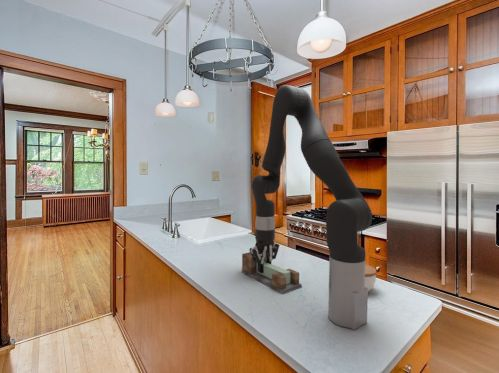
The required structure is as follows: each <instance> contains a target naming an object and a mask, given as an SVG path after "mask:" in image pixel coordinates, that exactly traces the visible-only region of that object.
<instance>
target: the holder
mask: <svg viewBox="0 0 499 373" xmlns="http://www.w3.org/2000/svg"><path fill="white" fill-rule="evenodd" d="M257 252H258V250H257ZM261 255H262V254H261ZM241 257H242V258H241V261H242V262H241V265H242V267H241V273H242V274H244V275H246V276H248V277H250V278H251V279H253V280H255V281H258V282H260V283H261V284H263V285H266V286H267V287H269V288H270V289H272V290H275V291H277V292H278V293H280V294H281V295H285V294H288V293H290V292H293V291H296V290H298V289H300V288H302V287H303V286H302V283H300V272H299V271H296V270H294V269H292V268H287V269H285V270H287V271H290V283H289V284H286V277H285V276H283V275H281V274H278V273H273V274H272V279H270V278H268V277H266V276H263V275H261V274H259V273H257V272H255V262H254V261H253V258H252V256H251V253H250V251H249V252H246V253H242V255H241ZM260 260H261V259H260ZM264 262H266V255H265V258H264Z"/></svg>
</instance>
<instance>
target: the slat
mask: <svg viewBox="0 0 499 373" xmlns="http://www.w3.org/2000/svg"><path fill="white" fill-rule="evenodd" d="M263 264H264V270H263V273H260V272H259V271H258V263H257V262H255V272H257V273H259V274H261V275H263V276H266V277H268V278H270V279H272V274H273V273H278V274H281V275H283V276H285V277H286V284H289V283H290V271H287V270H286V269H284V268H282V267H279V266H277V265H274V264H273V263H271V264H269V263H266V262H263Z"/></svg>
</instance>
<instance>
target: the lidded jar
mask: <svg viewBox="0 0 499 373" xmlns="http://www.w3.org/2000/svg"><path fill="white" fill-rule="evenodd" d="M376 278H377V269H376V268H375V267H373V266H372V265H368V264H366V263H365V287H366V288H368V292H370V291H371V290H372V289H373V288H374V286H375V283H376V280H377V279H376Z"/></svg>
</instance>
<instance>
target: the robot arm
mask: <svg viewBox="0 0 499 373" xmlns="http://www.w3.org/2000/svg"><path fill="white" fill-rule="evenodd" d="M273 97H274V98H273V103H272V107H271V108H272V109H271V110H272V111H271V118H270V124H269V135H268V140H267V143H266V144H267V145H266V148H265V151H264V155H263V159H262V161H261V162H262V163H261V168H262V169H263V170H264V171H266V172H268V174H267V175H264V174H263V175H262V174H261V175H256V176H254V178H253V179H252V181H251V190H252V193H253V197H254V202H255V224H254V226H255V228H254V229H255V230H254V232H255V234H254V237H255V244H254V246H253V247H250V248H249V250H248V251H249V252H250V253H251V256H252V258H253V261H254V262H257V263H258V271H259V272H260V273H263V270H264V264H263V262H264V258H265V255H266V263H269V264H272V261H273V260H276V258H277V255H278V253H279V248H280V244H278V243H275V241H274V240H275V239H276V219H275V202H274V201H273V200H270V199H267V196H266V195H269V194H270V195H272V194H275V193H276V192H277V191H278V190H279V188H280V185H281V167H282V165H283V162H284V158H285V155H286V140H285V134H284V130H285V129H284V127H285V121H286V120H287V116H292V117H294V118H295V120H296V121H297V122H298V125H299V127H300V129H301V138H300V151H301V154H302V155H303V157H304V158H303V159H304V160H305V162H306V165H307V166H308V168H309V169H310V170H311V172H312V173H313V174H314V175H315V176H316V177H317V178H318V179H319V180H320V181H321V182H322V183H323V184H325V186H326V187H327V188H328V189H329V190H330V192H331V193H332V195H333V197H334V198H335V200H334V201H332V202H331V203H330V204H329V205H328V208H327V211H326V214H325V215H326V216H325V217H326V218H325V226H326V232H325V234H326V246H327V247H328V251H329V262H328V263H329V265H328V266H329V269H328V303H327V304H328V306H327V307H328V309H327V315H328V318H329V320H330V321H331V322H332V323H334V324H335V325H337V326H340V327H343V328H347V329H352V330H353V331H355V330H357V329H359V328H360V327H361V326H364V325H365V324H366V323H368V302H369V301H368V299H369V298H368V296H369V294H368V293H369V291H368V288H366V287H365V264H366V250H365V248H364V247H363V246H360V245H359V244H358V233H359V232H362V231H365V230H367V229H369V228H370V226H371V224H372V223H373V222H372V221H373V213H372V209H371V208H370V206H369V203H368V202H367V200H366V199H365V198H364V196H363V194H362V193H361V191H360V190H359V189H358V187H357V186H356V184H355V183H354V181H353V179H352V178H351V176H350V174H349V171H347V169H346V166H345V165H344V163H343V162H342V160H341V158H340V156H339V153H338V152H337V150H336V147H335V145H334V143H333V142H332V140H331V138H330V137H329V136H328V133H327V132H326V130H325V128H324V126H323V124H322V122H321V119H320V118H319V116H318V113H317V110H316V108H315V106H314V103H313V100H312V97H311V96H310V93H309V92H307V90H305V89H304V88H301V87H297V86H294V85H293V86H292V85H290V84H289V85H288V84H283V85H281V86H279V87H278V89H277V90H276V92H275V95H274V96H273ZM257 251H258V252H257ZM261 254H262V255H261ZM260 259H261V260H260Z"/></svg>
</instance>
